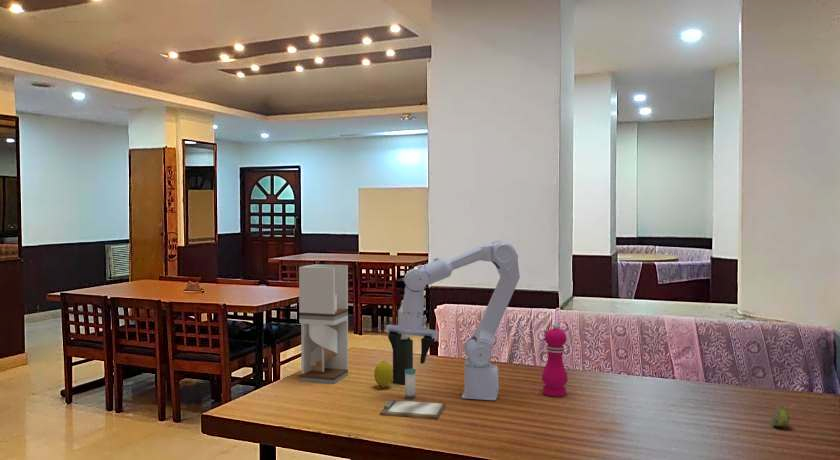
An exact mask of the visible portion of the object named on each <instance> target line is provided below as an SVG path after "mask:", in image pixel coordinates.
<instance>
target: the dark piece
mask: <svg viewBox="0 0 840 460" xmlns="http://www.w3.org/2000/svg"><path fill="white" fill-rule="evenodd" d="M403 300H404V299H402V300H401V304H400V307H399V309H398V311H397V325H401V326H402V315H403ZM413 341H414V340H413V339H411V337H409V335H407V334H402V335H401V340H400V348H399V359H397V360H394V353H393V352H392V369H393V379H392V383H393V384H394V383H396V385H403V386H405V369H414V357H413V356H414V347H413V346H414V345H413V344H414V342H413Z"/></svg>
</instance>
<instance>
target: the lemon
mask: <svg viewBox="0 0 840 460" xmlns="http://www.w3.org/2000/svg"><path fill="white" fill-rule="evenodd" d="M373 374H374V381H375V382H376V383H377V385H378V386H380V387H382V388H383V389H384V388H386V387H387V386H388V385H390V384H391V383H392V382H393V366H392V365H391V363H389V362H387V361H386V360H382V361H381V362H378V363H377V364H376V366H375V367H374V373H373Z"/></svg>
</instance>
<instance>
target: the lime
mask: <svg viewBox="0 0 840 460" xmlns="http://www.w3.org/2000/svg"><path fill="white" fill-rule="evenodd" d="M770 418H771V420H770V425H771V426H772V427H774V426H775V427H774V428H784V427H787V426H788V424H789V422H790V415H789V412H788V410H787V408H785V407H784V406H781V405H778V406H776V408H775V409H774V410H773V412H772V415H771V417H770Z"/></svg>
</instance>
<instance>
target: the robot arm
mask: <svg viewBox="0 0 840 460" xmlns="http://www.w3.org/2000/svg"><path fill="white" fill-rule="evenodd" d="M479 261H482V262H490V263H492V264H493V265H494V266H495V268H496V270H497V272H498V275H499V280H498V282H497V284H496V285H495V288H494V291H493V293H492V295H491V298H490V300H489V302H488V304H487V306H486V309H485V311H484V314H483V316H482V317H481V320H480V323H479V325H478V327H477V328H476V329H475V330H474V331H473V333H472V335H471V337H470V338H469V339H467V341H466V342H465V343H464V346H463V347H464V348H463V351H464V354H465V355H466V357H467V358H466V359H465V361H464V390H463V393H462V395H461V399H468V400H482V401H483V400H484V401H497V397H498V395H499V391H500V389H499V388H500V387H499V366H498V365H497V364H496V365H495V364H491V360H492V357H493V356H492V351H493V350H492V349H493V347H494V344H495V343H494V342H495V334H496V333H497V330H498V328H499V326H500V323H501V321H502V319H503V316H504V315H505V312H506V310H507V307H508V306H509V303H510V301H511V299H512V297H513V294H514V292H515V290H516V288H517V286H518V283H519V280H520V276H521V275H520V268H519V255H518V253H517V251H516V250H515V248H514V246H513V245H512V244H511V243H509V242H506V241H505V242H504V241H500V240H495V241H492V242H491V243H485V244H484V243H483V244H481V245H478V246H475V247H474V248H471V249H469V250H467V251H465V252H463V253H461V254H458V255H457V256H454V257H452V258H449V259H447V258H444V257H440V258H439V257H437V256H436V257H434V258H433V261H430V262H427V263H426V264H423V265H422V264H418V265H417V268H410V269H409V270H407V272H406V273H405V275H404V277H403V282H404V285H405V286H404V291H403V292H404V295H403V299H402V300H403V315H402V326H401V325H398V324H387V325H386V326H385V333H388V334H387V339H388V340H389V343H390V346H391V348H392V354H393V353H394V360H397V359H399V348H400V340H401V335H402V334H407V335H408V336H409V335H411V336H416V337H417V336H418V337H422V338H421V340H420V343H421V344H420V345H421V346H420V348H421V354H420V359H419V361H420V364H425V363H426V358H427V355H428V352H429V350H430V348H431V345H432V344H433V342H434V340H435V339H438V334H439V333H438V332H439V331H438V330H436V329H430V328H424V327H423V322H424V321H423V320H424V318H423V317H424V305H425V296H424V295H425V294H424V293H425V288H426V287H427V285H429V286H431V285H433V284H435V283H437V282H441V281H443V280H445V279H447V278H450V277H451V276H452V273H453V271H455V270H457V269H460V268H463V267H465V266H468V265H471V264H473V263H475V262H479Z"/></svg>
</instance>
